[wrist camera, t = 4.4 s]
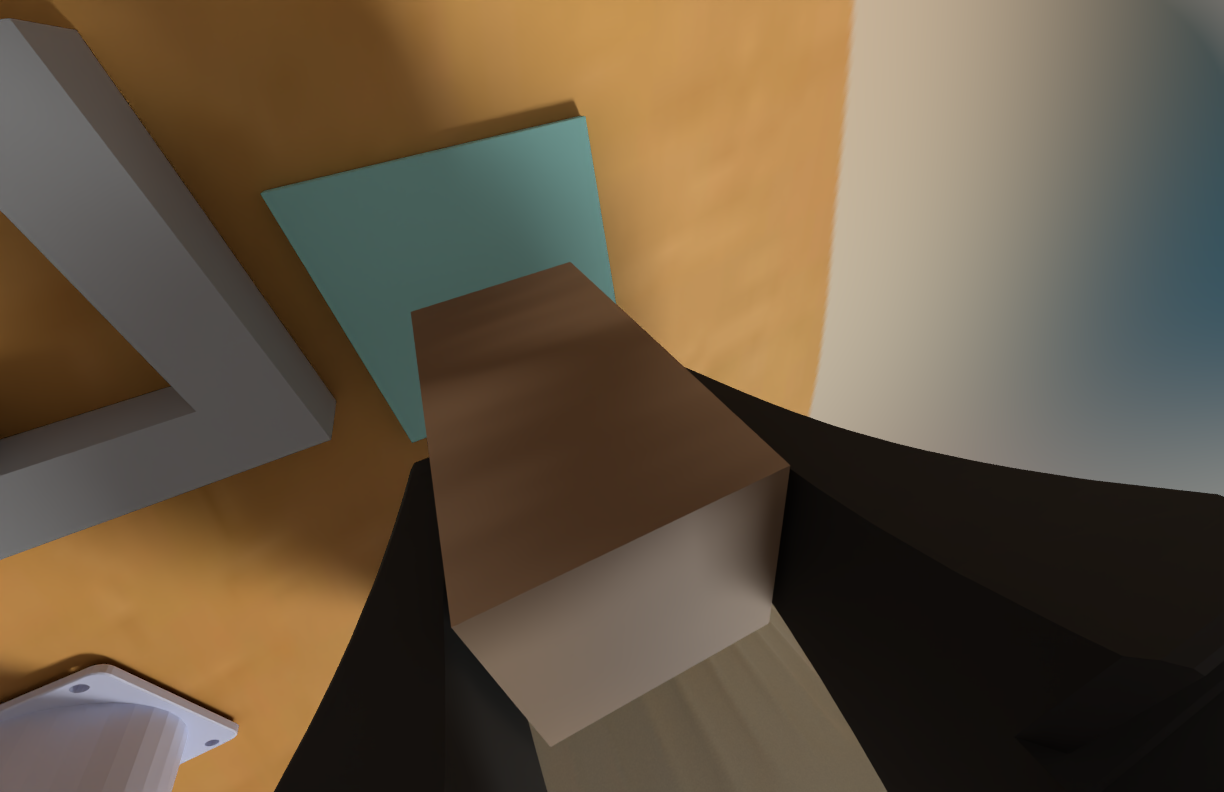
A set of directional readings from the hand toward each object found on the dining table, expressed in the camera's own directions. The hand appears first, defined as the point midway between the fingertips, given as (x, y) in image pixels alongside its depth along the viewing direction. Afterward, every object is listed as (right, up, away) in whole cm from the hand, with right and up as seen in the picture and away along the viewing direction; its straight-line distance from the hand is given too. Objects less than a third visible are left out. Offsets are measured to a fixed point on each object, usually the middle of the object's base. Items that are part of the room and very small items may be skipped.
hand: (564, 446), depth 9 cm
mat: (-3, +5, +6) cm, 9 cm away
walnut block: (-2, +2, +3) cm, 4 cm away
